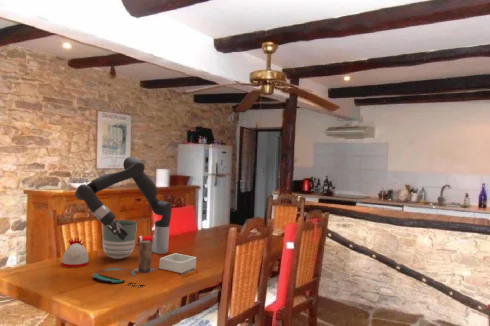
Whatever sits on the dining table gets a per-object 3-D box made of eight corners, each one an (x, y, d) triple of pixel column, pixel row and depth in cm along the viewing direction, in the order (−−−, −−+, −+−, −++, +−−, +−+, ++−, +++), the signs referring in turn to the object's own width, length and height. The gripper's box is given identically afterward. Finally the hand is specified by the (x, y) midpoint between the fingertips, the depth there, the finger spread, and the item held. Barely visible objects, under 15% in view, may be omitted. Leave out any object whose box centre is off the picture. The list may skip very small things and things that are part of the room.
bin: (159, 271, 222) (159, 258, 222) (174, 265, 235) (175, 253, 235) (181, 275, 216) (182, 262, 216) (195, 269, 229) (196, 257, 229)
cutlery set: (112, 270, 219) (112, 265, 219) (159, 280, 208) (159, 276, 208) (85, 280, 201) (85, 275, 201) (135, 292, 190) (135, 287, 190)
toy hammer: (163, 250, 268) (164, 241, 268) (146, 252, 262) (146, 242, 262) (153, 243, 288) (154, 234, 288) (137, 244, 282) (137, 235, 282)
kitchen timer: (64, 260, 231) (65, 234, 230) (89, 260, 234) (91, 234, 234) (59, 267, 217) (61, 240, 217) (86, 267, 221) (88, 240, 220)
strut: (138, 269, 217) (140, 242, 217) (143, 267, 221) (145, 240, 221) (145, 271, 215) (146, 243, 215) (150, 269, 219) (152, 241, 219)
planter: (125, 252, 256) (127, 218, 256) (141, 259, 242) (143, 224, 242) (94, 256, 242) (96, 221, 242) (110, 264, 228) (112, 226, 228)
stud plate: (130, 272, 216) (131, 262, 215) (142, 268, 225) (143, 258, 224) (145, 276, 211) (146, 266, 211) (157, 271, 220) (158, 262, 220)
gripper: (106, 212, 208) (128, 235, 210) (112, 208, 222) (133, 230, 224) (95, 222, 208) (117, 245, 209) (102, 217, 222) (122, 239, 223)
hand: (125, 237), depth 216 cm, fingers open, 8 cm apart
